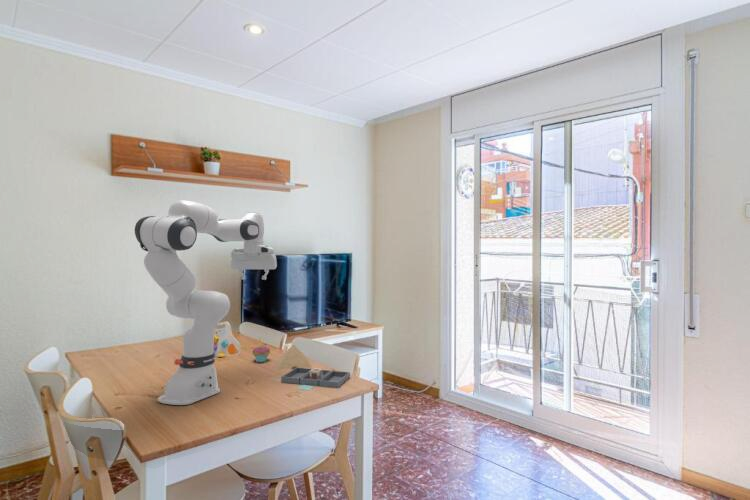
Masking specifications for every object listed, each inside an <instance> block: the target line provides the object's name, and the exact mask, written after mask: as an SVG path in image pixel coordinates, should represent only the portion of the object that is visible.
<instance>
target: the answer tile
mask: <svg viewBox="0 0 750 500" xmlns="http://www.w3.org/2000/svg"><path fill="white" fill-rule="evenodd" d="M314 387H315V386H311V385H300V386H299V387H297V388H296V389H297V390H302V391H310V390H311V389H313V388H314Z"/></svg>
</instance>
